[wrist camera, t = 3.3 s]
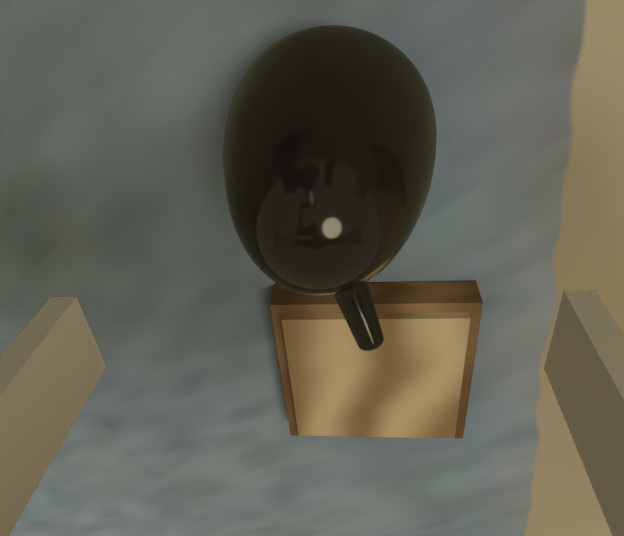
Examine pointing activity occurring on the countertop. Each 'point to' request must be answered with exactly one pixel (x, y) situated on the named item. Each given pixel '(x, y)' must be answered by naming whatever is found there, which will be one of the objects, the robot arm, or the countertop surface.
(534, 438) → the countertop surface
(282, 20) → the countertop surface
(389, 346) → the stand
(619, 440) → the robot arm
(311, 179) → the pump dispenser
